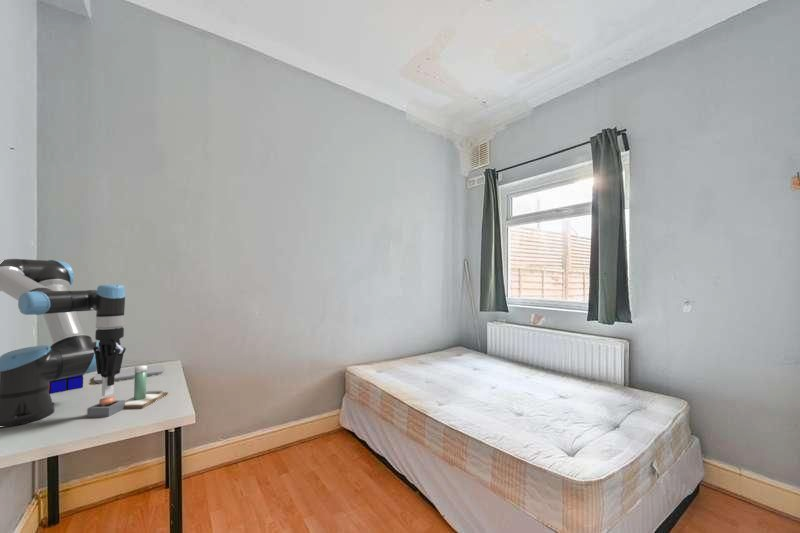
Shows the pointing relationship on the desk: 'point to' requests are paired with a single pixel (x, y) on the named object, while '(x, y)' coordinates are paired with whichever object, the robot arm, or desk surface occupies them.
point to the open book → (150, 398)
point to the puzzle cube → (65, 384)
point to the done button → (107, 401)
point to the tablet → (132, 373)
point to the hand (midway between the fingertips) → (107, 394)
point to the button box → (105, 409)
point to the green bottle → (140, 382)
